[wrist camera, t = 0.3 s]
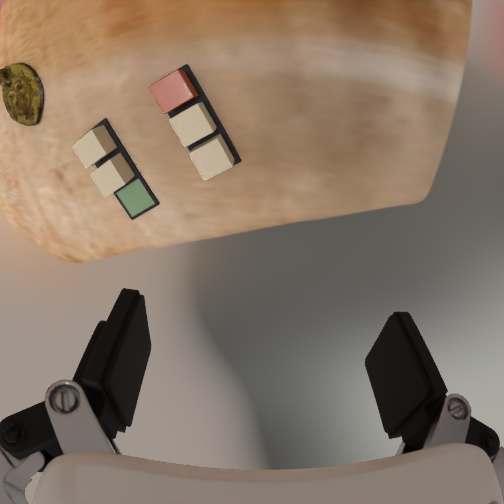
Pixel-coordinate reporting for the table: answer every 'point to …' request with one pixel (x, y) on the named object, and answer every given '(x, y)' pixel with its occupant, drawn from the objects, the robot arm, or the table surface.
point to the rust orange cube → (173, 91)
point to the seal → (22, 93)
